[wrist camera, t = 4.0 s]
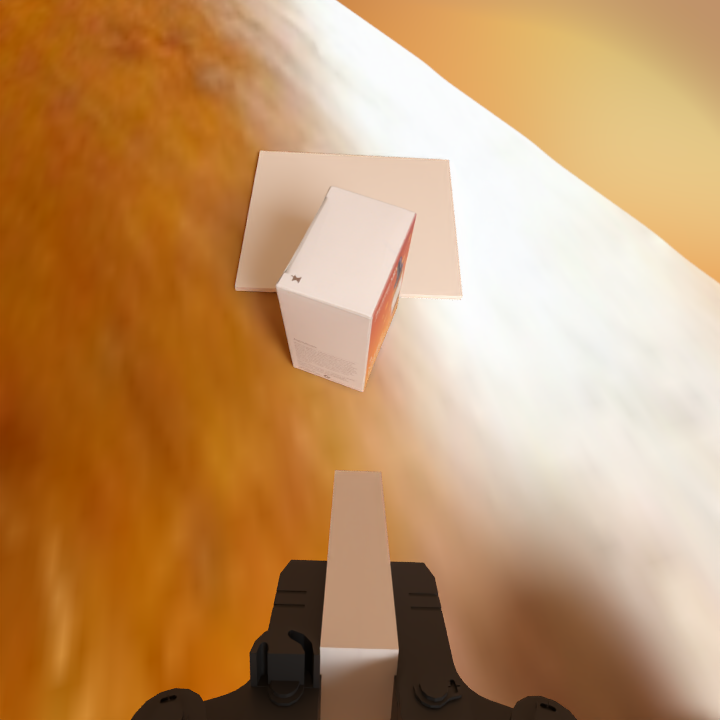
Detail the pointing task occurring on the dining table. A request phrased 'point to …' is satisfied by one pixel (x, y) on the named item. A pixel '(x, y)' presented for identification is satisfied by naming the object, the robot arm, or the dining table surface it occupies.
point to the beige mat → (359, 175)
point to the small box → (345, 286)
